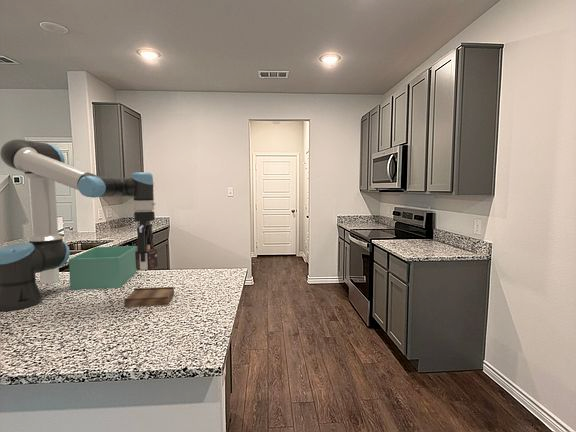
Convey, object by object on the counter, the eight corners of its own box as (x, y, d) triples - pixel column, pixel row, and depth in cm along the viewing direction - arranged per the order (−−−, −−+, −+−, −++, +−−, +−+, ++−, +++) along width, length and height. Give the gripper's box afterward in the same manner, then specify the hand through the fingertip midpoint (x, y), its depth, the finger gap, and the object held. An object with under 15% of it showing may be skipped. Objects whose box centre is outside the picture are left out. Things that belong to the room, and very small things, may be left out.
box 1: (137, 271, 182) (136, 245, 181) (120, 288, 151) (119, 257, 150) (96, 273, 178) (95, 247, 177) (70, 290, 147) (68, 258, 146)
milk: (54, 283, 158) (52, 238, 156) (39, 284, 156) (37, 238, 155) (59, 279, 164) (57, 236, 162) (45, 280, 162) (43, 236, 160)
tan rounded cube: (140, 251, 131) (139, 246, 131) (142, 249, 134) (142, 244, 134) (148, 250, 131) (147, 245, 131) (150, 249, 134) (149, 244, 134)
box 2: (149, 269, 130) (148, 251, 129) (135, 269, 131) (134, 251, 130) (157, 266, 136) (157, 248, 135) (144, 265, 137) (143, 248, 136)
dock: (124, 307, 126) (124, 299, 126) (134, 295, 140) (134, 288, 139) (167, 304, 129) (167, 297, 128) (173, 293, 142) (173, 286, 142)
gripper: (147, 212, 122) (150, 272, 124) (159, 209, 142) (161, 261, 144) (126, 212, 121) (129, 273, 123) (141, 209, 141) (143, 262, 142)
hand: (146, 267), depth 133 cm, fingers closed on box 2, 7 cm apart
